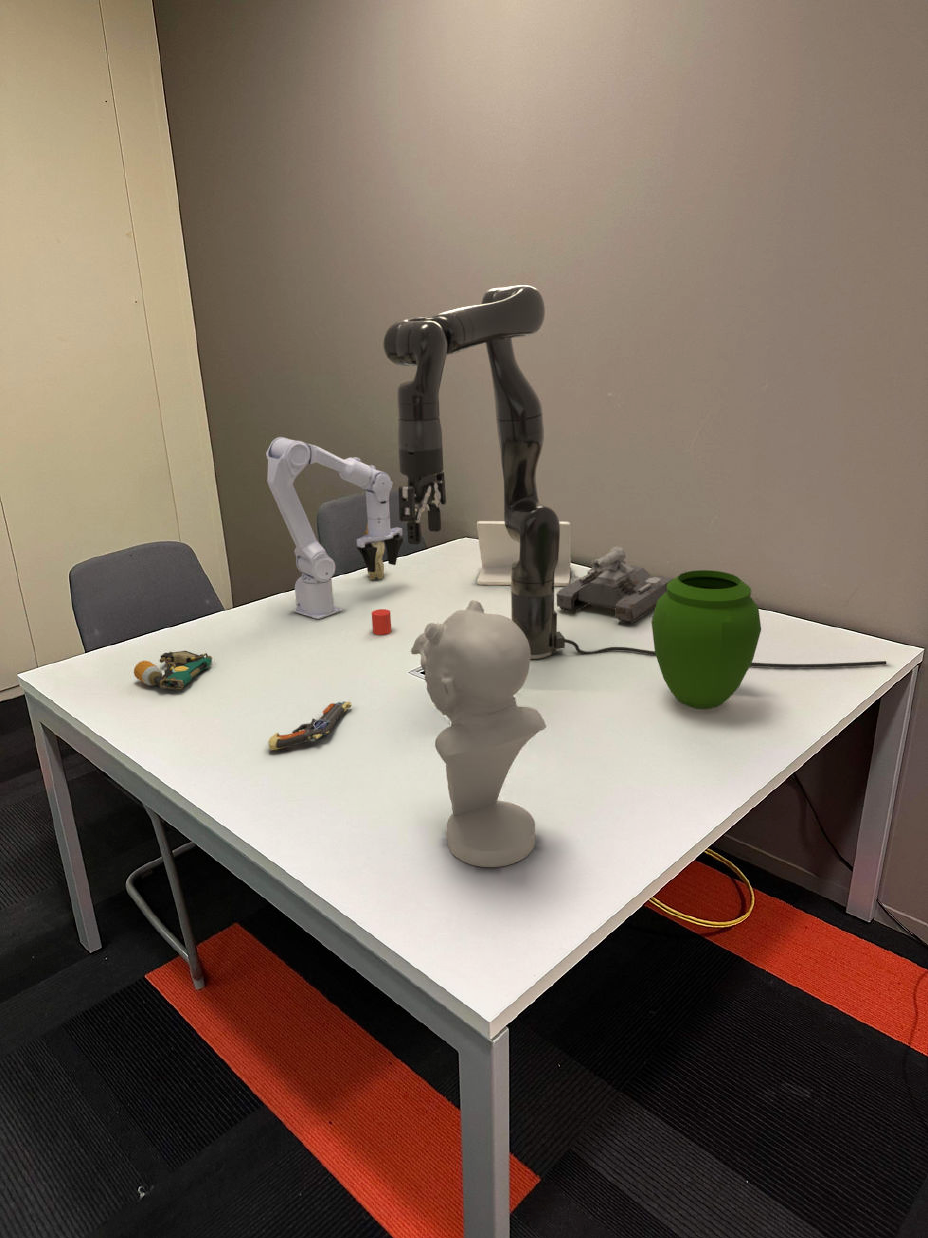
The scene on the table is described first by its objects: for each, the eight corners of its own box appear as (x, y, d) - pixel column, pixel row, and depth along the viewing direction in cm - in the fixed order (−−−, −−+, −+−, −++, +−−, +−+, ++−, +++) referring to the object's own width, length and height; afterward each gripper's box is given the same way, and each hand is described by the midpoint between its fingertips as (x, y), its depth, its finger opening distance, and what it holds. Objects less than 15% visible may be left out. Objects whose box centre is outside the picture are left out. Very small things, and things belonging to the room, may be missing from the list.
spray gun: (177, 659, 191) (231, 671, 185) (120, 684, 176) (176, 698, 171) (176, 641, 190) (230, 653, 184) (118, 665, 175) (174, 678, 169)
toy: (603, 584, 229) (605, 530, 224) (673, 597, 218) (677, 540, 213) (555, 612, 210) (556, 553, 205) (630, 627, 199) (633, 566, 194)
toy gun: (263, 740, 148) (317, 738, 146) (303, 699, 166) (351, 696, 163) (266, 754, 148) (320, 752, 146) (305, 712, 166) (354, 709, 164)
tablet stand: (569, 585, 229) (570, 524, 223) (476, 584, 232) (475, 523, 226) (570, 566, 246) (571, 508, 240) (484, 564, 249) (483, 507, 243)
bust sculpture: (481, 772, 140) (476, 569, 128) (565, 848, 120) (569, 617, 108) (392, 800, 134) (378, 588, 121) (465, 886, 114) (457, 642, 101)
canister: (370, 629, 203) (369, 610, 201) (388, 627, 204) (387, 608, 203) (375, 636, 199) (374, 616, 197) (393, 633, 201) (392, 613, 199)
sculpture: (387, 572, 244) (383, 521, 239) (386, 580, 238) (382, 528, 232) (366, 573, 244) (363, 522, 239) (365, 581, 237) (361, 529, 232)
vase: (765, 692, 165) (778, 572, 157) (736, 734, 150) (748, 603, 142) (668, 672, 175) (675, 558, 167) (631, 709, 160) (637, 586, 151)
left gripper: (368, 525, 211) (372, 577, 216) (409, 513, 221) (412, 563, 226) (349, 521, 215) (353, 572, 220) (390, 509, 226) (393, 559, 230)
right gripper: (418, 437, 153) (422, 525, 158) (381, 451, 140) (387, 546, 146) (456, 439, 150) (460, 528, 156) (422, 453, 138) (427, 549, 143)
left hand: (381, 567), depth 223 cm, fingers open, 7 cm apart
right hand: (425, 537), depth 151 cm, fingers open, 8 cm apart
